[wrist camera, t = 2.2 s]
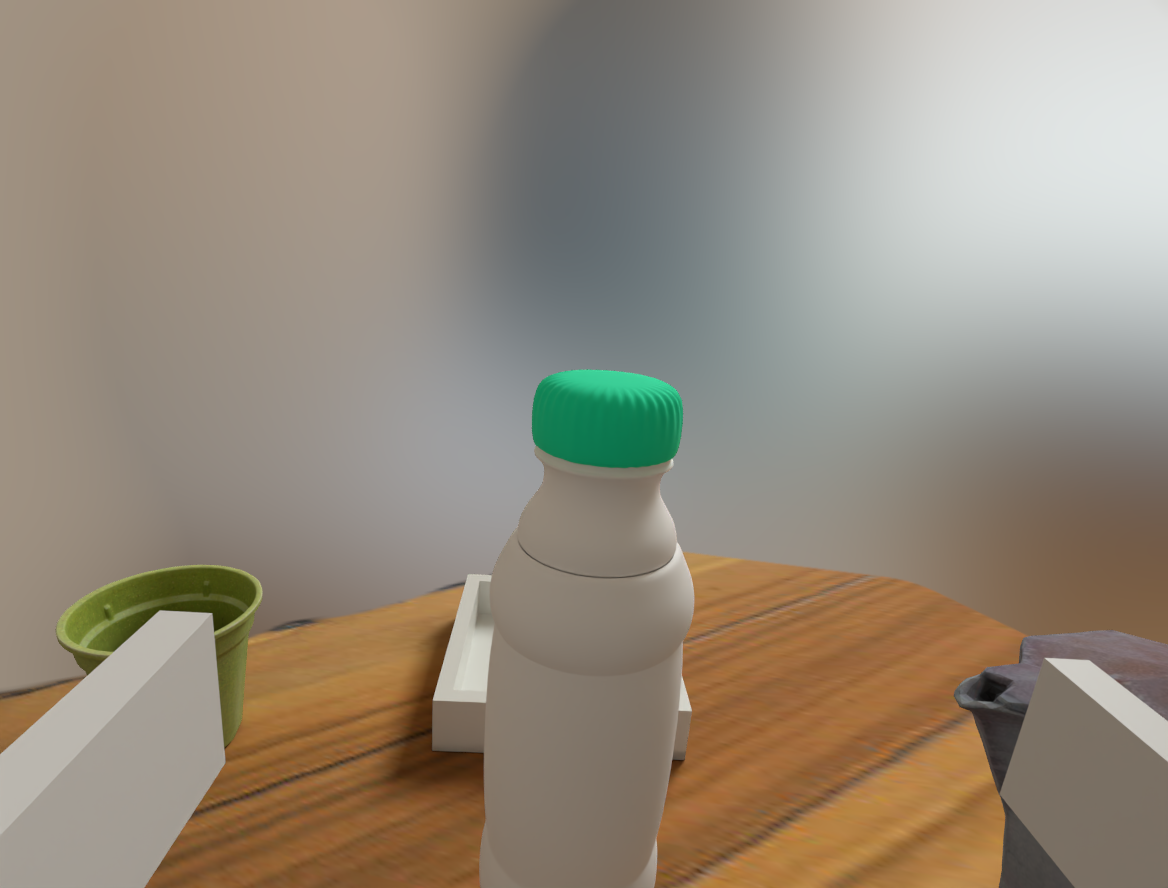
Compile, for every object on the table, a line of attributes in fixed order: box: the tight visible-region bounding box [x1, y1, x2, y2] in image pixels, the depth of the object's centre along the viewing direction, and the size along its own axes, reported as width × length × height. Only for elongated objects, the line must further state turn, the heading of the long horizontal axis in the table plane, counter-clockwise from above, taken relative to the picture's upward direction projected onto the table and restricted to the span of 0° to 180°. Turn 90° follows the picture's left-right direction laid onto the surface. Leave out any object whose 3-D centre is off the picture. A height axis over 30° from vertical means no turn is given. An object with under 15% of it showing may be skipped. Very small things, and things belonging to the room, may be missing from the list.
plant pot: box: [56, 565, 262, 747], centre depth 37 cm, size 9×9×9 cm
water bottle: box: [479, 369, 694, 888], centre depth 24 cm, size 7×7×25 cm
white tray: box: [432, 574, 692, 760], centre depth 45 cm, size 15×15×4 cm
